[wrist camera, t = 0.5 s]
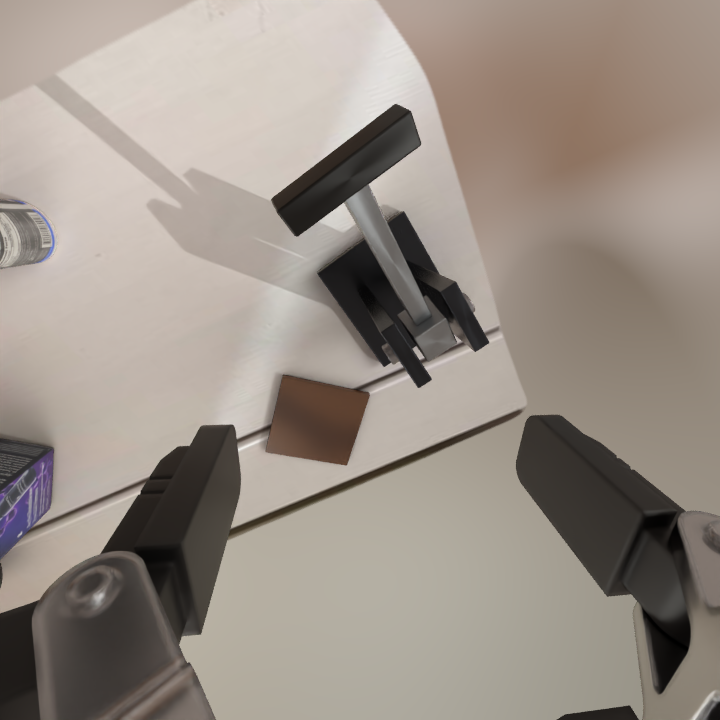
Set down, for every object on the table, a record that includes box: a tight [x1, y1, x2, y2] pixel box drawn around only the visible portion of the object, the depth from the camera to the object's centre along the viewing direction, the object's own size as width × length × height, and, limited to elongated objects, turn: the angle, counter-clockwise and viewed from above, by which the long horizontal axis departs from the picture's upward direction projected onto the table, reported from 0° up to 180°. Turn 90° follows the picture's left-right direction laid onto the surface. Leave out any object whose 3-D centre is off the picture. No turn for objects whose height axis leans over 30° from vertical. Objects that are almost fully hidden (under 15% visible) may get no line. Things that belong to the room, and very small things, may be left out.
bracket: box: [317, 211, 489, 388], centre depth 27 cm, size 11×9×14 cm
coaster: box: [266, 375, 370, 465], centre depth 37 cm, size 9×9×1 cm
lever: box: [271, 104, 457, 362], centre depth 18 cm, size 13×6×2 cm, turn 34°
